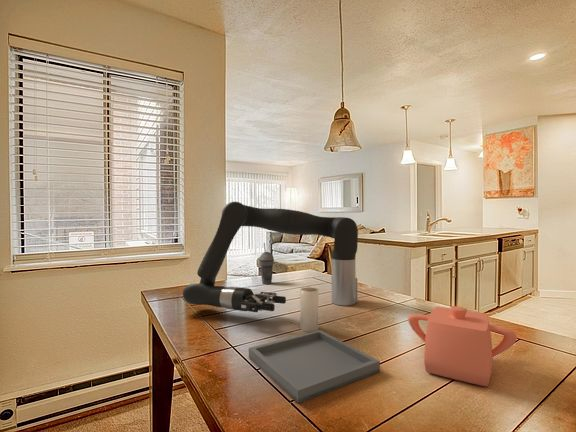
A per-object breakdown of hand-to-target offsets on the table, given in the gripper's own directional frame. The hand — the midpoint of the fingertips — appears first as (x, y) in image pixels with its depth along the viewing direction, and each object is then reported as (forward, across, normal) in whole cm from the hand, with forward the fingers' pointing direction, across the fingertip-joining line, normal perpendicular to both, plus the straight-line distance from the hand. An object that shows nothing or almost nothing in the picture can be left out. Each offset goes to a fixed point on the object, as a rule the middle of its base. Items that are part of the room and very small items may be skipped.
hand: (280, 303), depth 102 cm
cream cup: (+10, 0, +6) cm, 12 cm away
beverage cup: (-30, +48, +7) cm, 57 cm away
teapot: (+50, -7, +7) cm, 51 cm away
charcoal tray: (+18, -22, +6) cm, 29 cm away
